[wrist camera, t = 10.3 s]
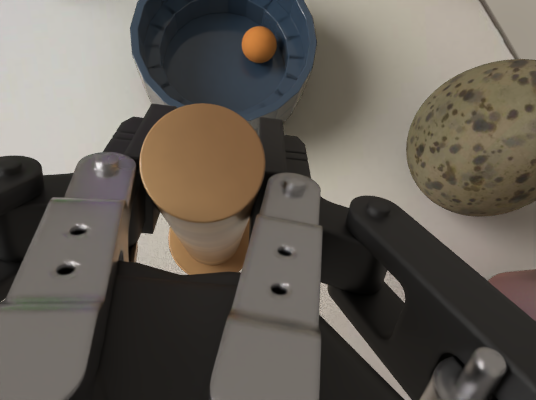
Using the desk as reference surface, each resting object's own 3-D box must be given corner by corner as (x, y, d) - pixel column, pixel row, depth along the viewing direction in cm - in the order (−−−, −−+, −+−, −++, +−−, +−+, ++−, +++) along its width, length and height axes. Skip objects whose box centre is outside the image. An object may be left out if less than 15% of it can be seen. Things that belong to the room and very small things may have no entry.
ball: (249, 74, 40) (251, 56, 37) (235, 45, 41) (236, 25, 38) (280, 62, 41) (284, 44, 38) (265, 34, 41) (269, 13, 38)
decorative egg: (510, 132, 42) (663, 43, 28) (488, 243, 40) (645, 211, 25) (399, 95, 42) (495, -14, 27) (371, 205, 39) (460, 150, 25)
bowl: (182, 171, 38) (175, 151, 33) (118, 29, 40) (102, -12, 35) (330, 109, 41) (347, 81, 35) (262, -21, 43) (268, -67, 38)
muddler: (190, 296, 21) (148, 291, 9) (157, 218, 22) (73, 111, 9) (267, 260, 22) (330, 210, 10) (233, 186, 23) (250, 47, 10)
